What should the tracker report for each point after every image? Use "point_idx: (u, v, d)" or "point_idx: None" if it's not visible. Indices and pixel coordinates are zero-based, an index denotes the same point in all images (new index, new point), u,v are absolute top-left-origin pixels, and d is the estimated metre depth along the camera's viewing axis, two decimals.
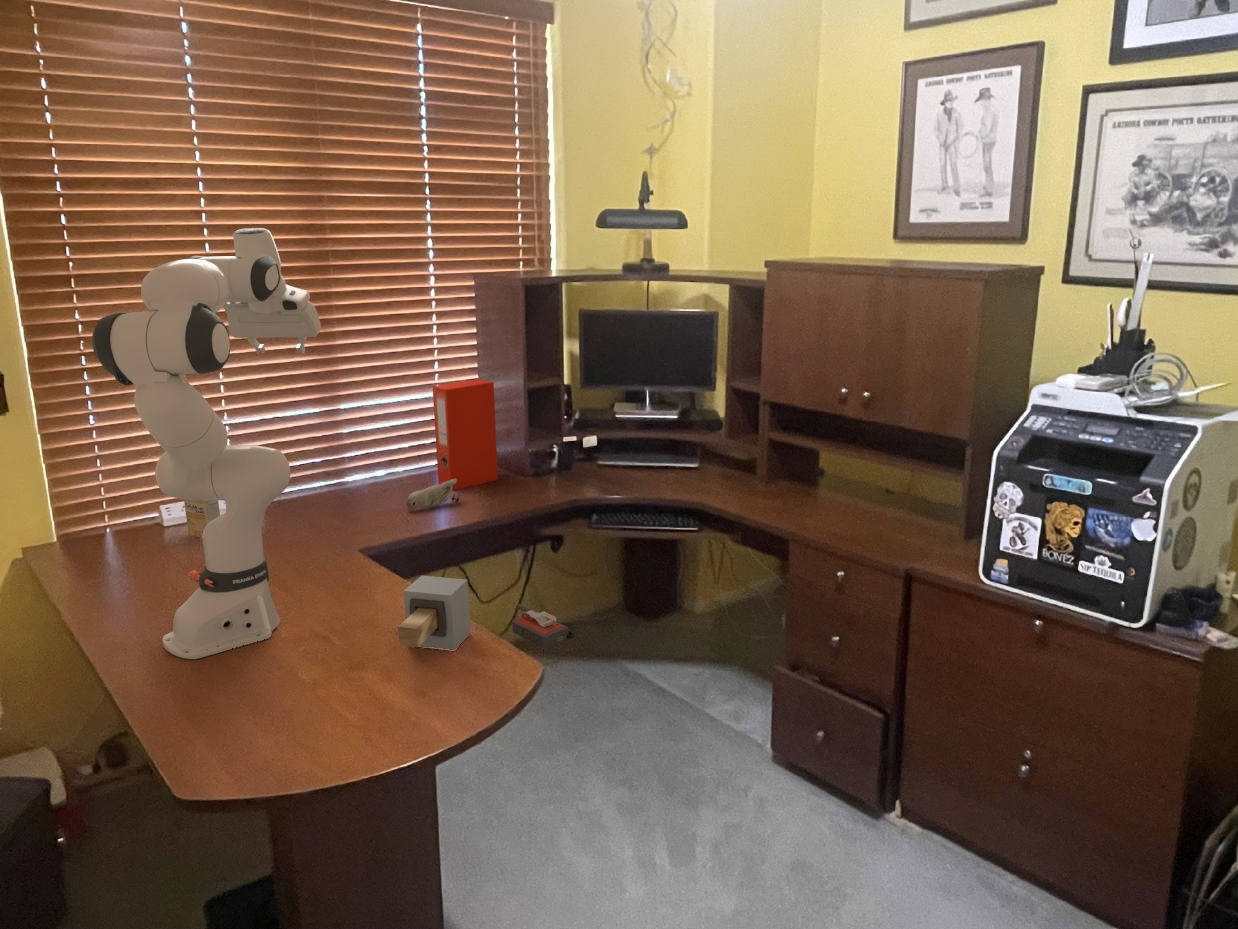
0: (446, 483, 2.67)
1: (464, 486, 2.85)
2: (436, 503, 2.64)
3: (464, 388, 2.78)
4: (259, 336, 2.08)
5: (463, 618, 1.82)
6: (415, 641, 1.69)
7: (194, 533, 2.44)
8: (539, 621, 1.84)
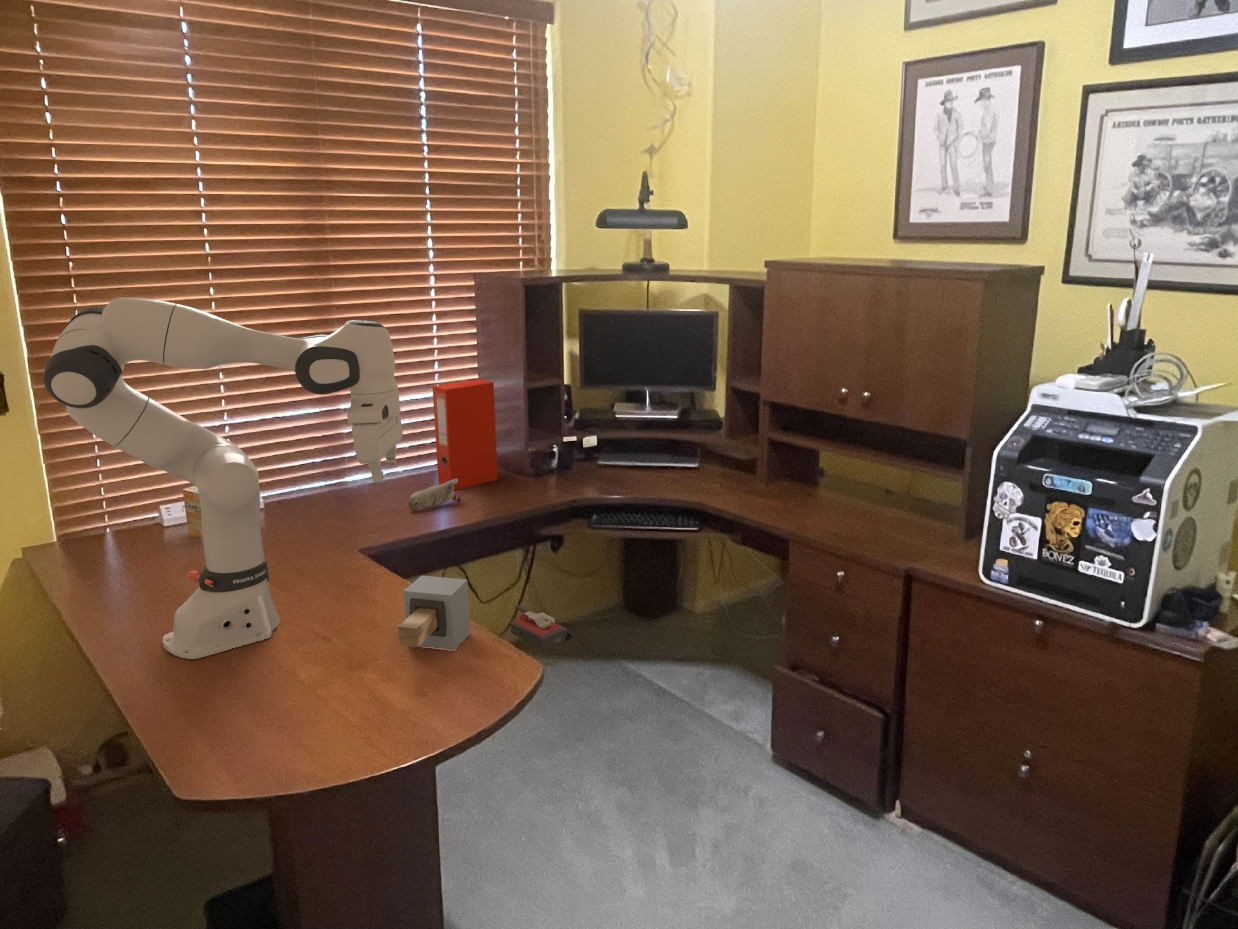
0: (447, 483, 2.67)
1: (464, 486, 2.85)
2: (438, 503, 2.64)
3: (464, 388, 2.78)
4: None
5: (463, 618, 1.82)
6: (415, 641, 1.69)
7: (194, 533, 2.44)
8: (538, 622, 1.83)
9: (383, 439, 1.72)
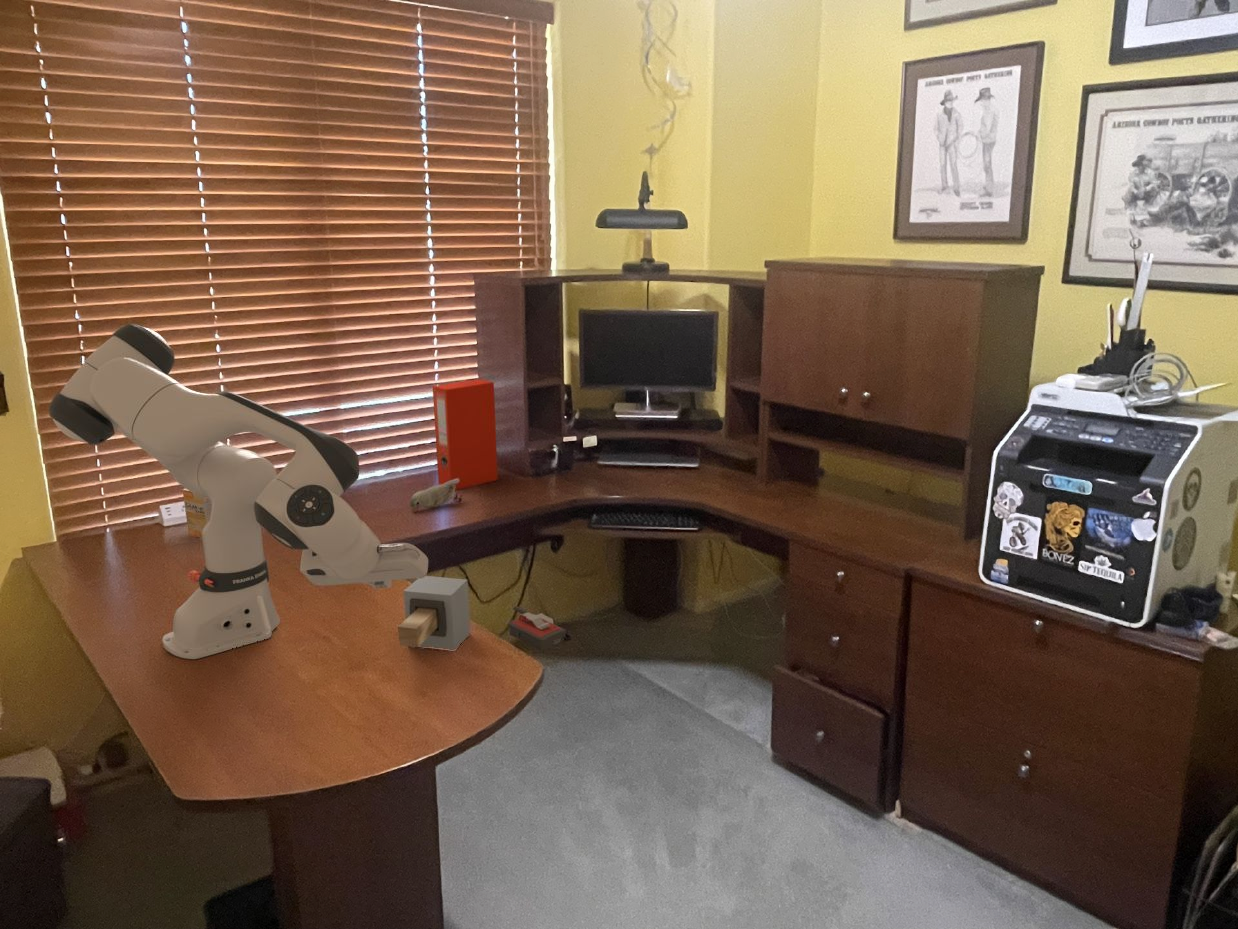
0: (449, 483, 2.67)
1: (464, 486, 2.85)
2: (439, 503, 2.64)
3: (464, 388, 2.78)
4: None
5: (463, 618, 1.82)
6: (415, 641, 1.69)
7: (194, 533, 2.44)
8: (536, 623, 1.83)
9: (340, 576, 1.53)
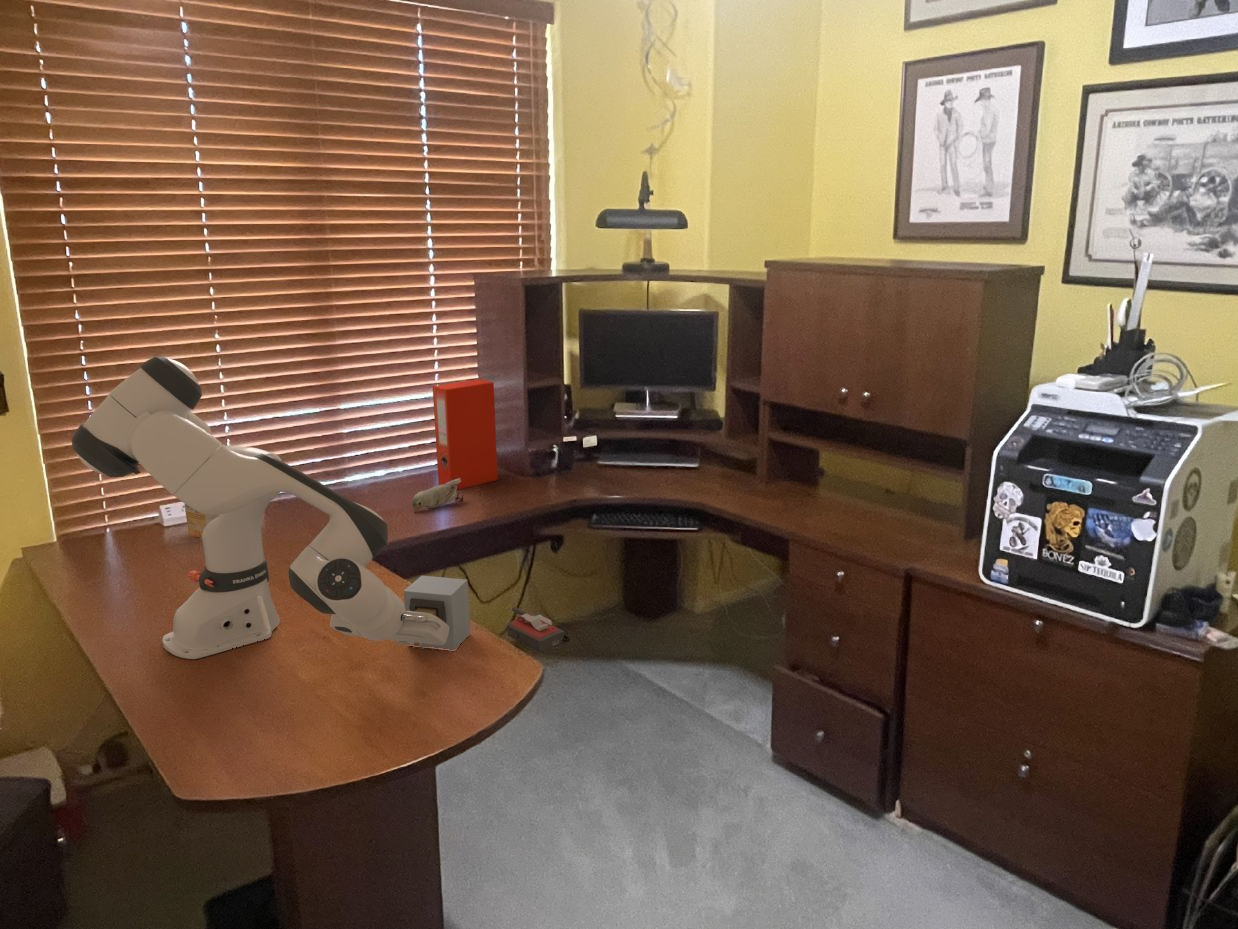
0: (450, 483, 2.67)
1: (464, 486, 2.85)
2: (441, 503, 2.65)
3: (464, 388, 2.78)
4: None
5: (463, 618, 1.82)
6: None
7: (194, 533, 2.44)
8: (534, 625, 1.82)
9: None
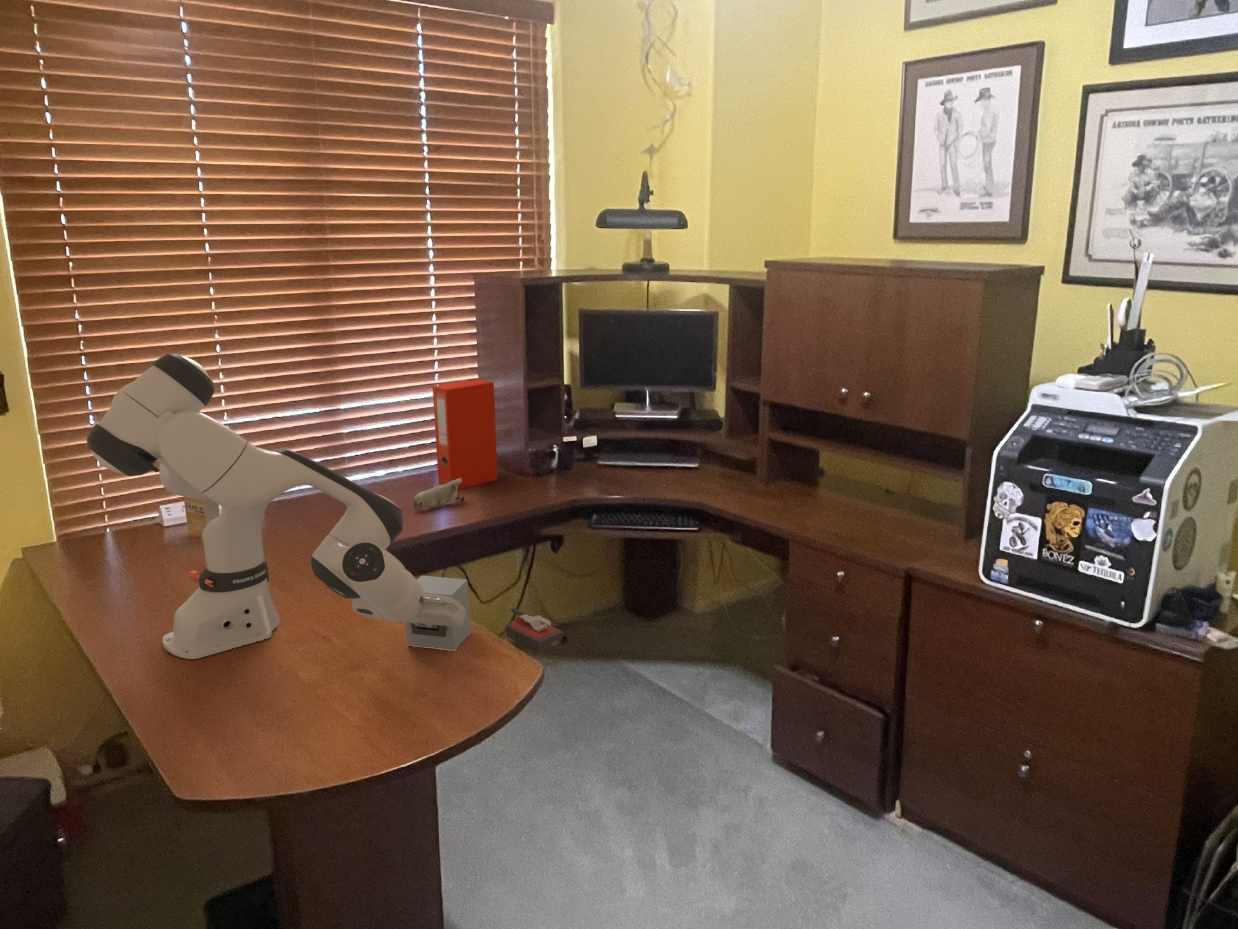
0: (451, 483, 2.67)
1: (464, 486, 2.85)
2: (442, 503, 2.65)
3: (464, 388, 2.78)
4: None
5: None
6: None
7: (194, 533, 2.44)
8: (533, 625, 1.82)
9: None
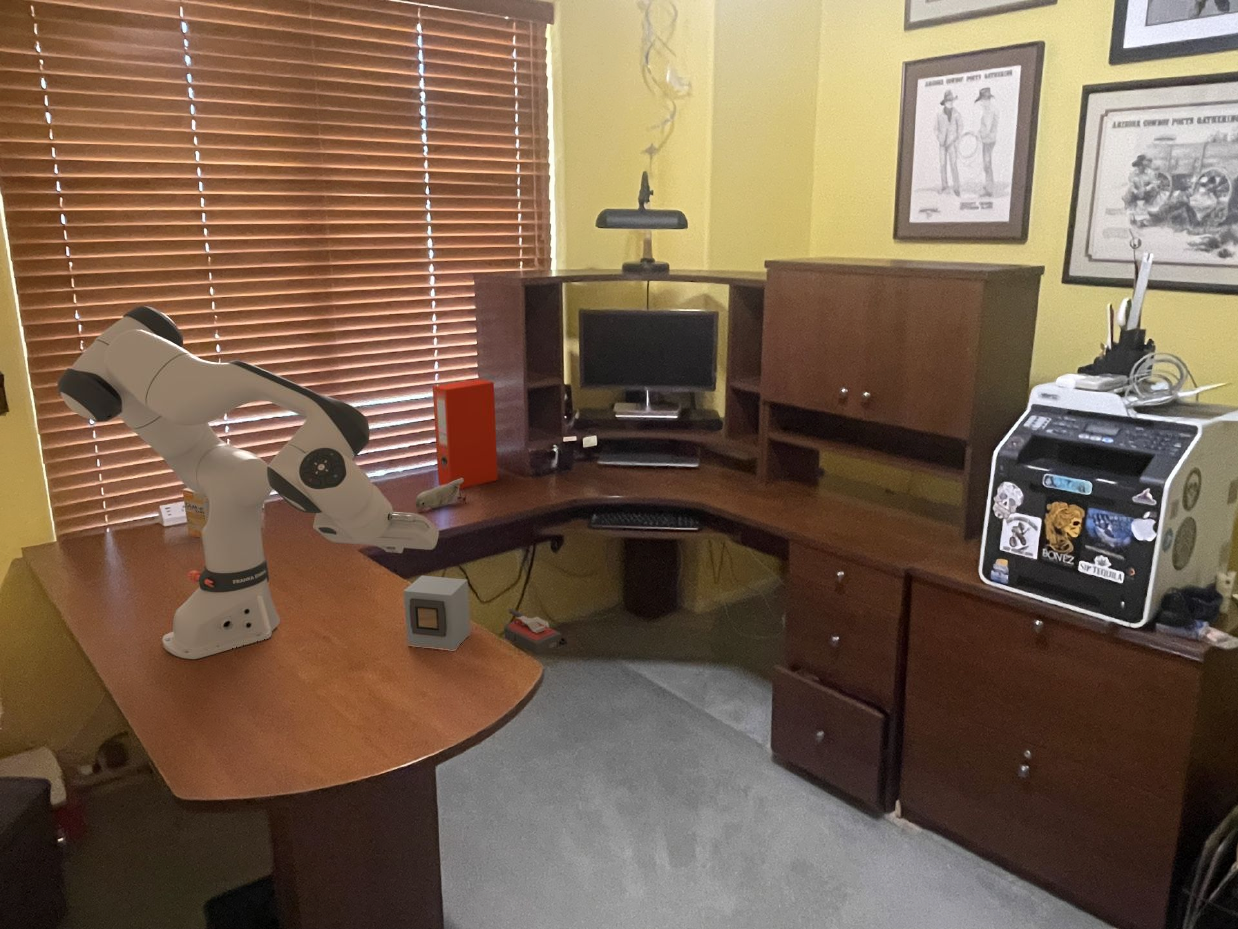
0: (453, 482, 2.68)
1: (464, 486, 2.85)
2: (444, 503, 2.65)
3: (464, 388, 2.78)
4: None
5: (463, 618, 1.82)
6: (434, 622, 1.77)
7: (194, 533, 2.44)
8: (531, 627, 1.81)
9: None
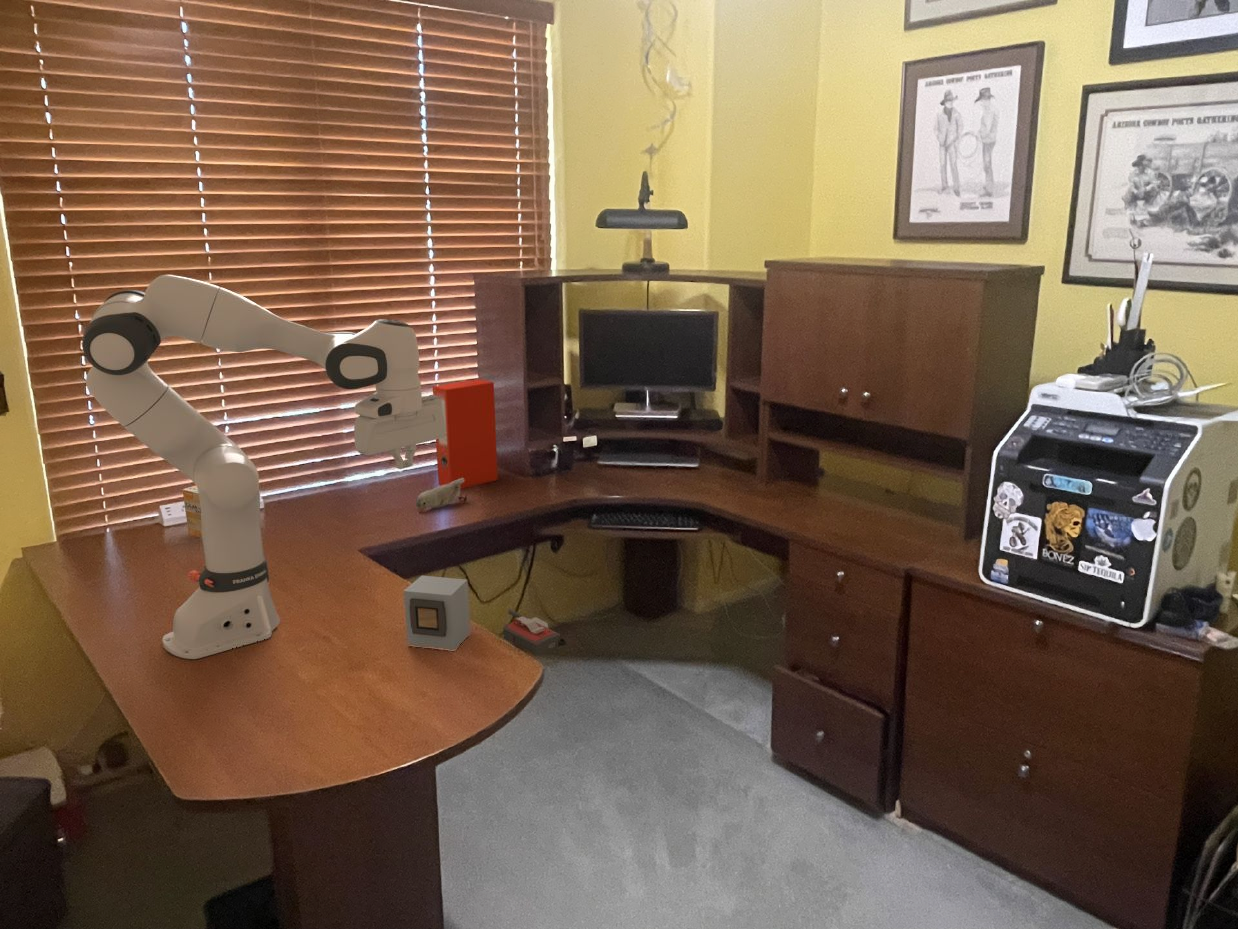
0: (454, 482, 2.68)
1: (464, 486, 2.85)
2: (445, 502, 2.65)
3: (464, 388, 2.78)
4: None
5: (463, 618, 1.82)
6: (434, 622, 1.77)
7: (194, 533, 2.44)
8: (530, 628, 1.81)
9: (389, 434, 1.79)
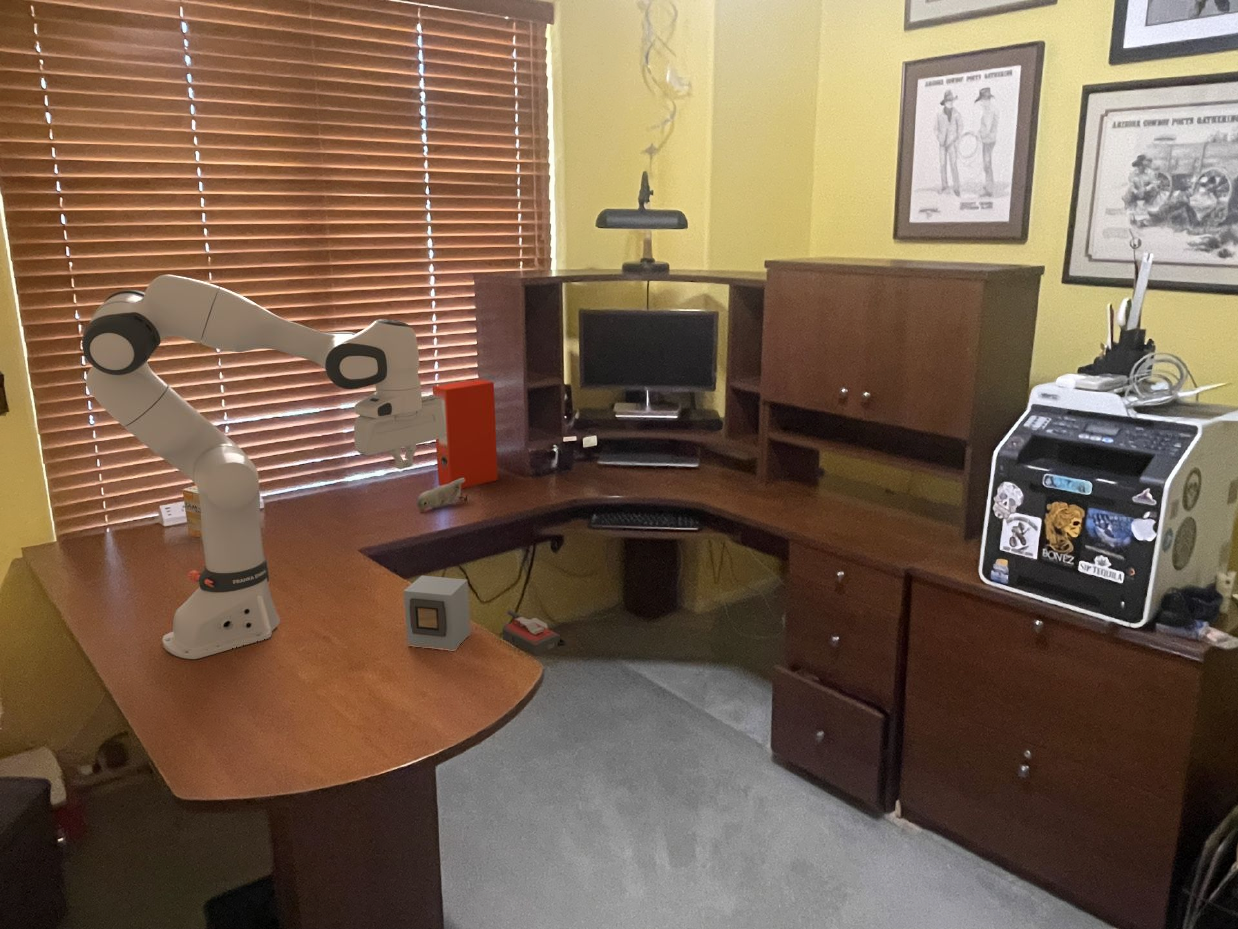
0: (455, 482, 2.68)
1: (464, 486, 2.85)
2: (446, 502, 2.65)
3: (464, 388, 2.78)
4: None
5: (463, 618, 1.82)
6: (434, 622, 1.77)
7: (194, 533, 2.44)
8: (530, 628, 1.81)
9: (389, 434, 1.79)
